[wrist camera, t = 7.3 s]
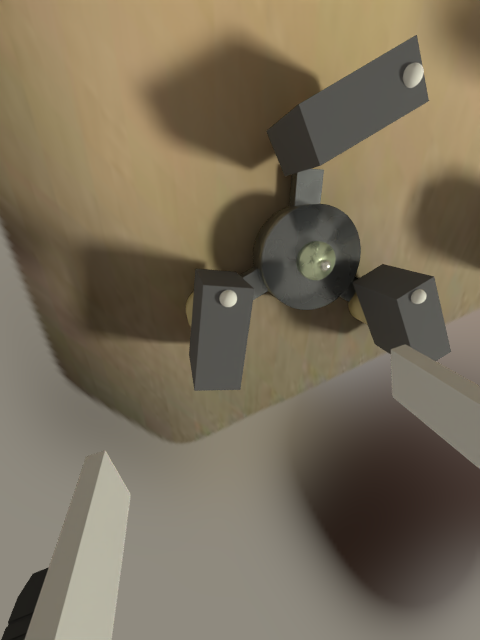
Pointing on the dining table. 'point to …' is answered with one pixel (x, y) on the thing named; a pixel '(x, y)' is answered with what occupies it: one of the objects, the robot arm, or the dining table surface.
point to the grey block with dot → (350, 109)
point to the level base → (306, 249)
